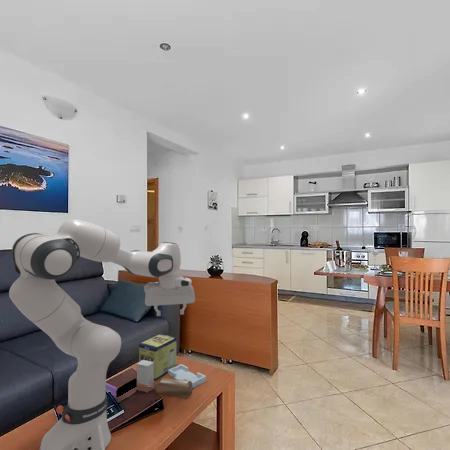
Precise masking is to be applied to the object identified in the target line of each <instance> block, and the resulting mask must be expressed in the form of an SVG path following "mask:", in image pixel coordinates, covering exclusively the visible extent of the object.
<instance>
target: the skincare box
mask: <svg viewBox="0 0 450 450" xmlns="http://www.w3.org/2000/svg"><path fill="white" fill-rule="evenodd" d="M136 379H137V385H140V386H144V387H152V388H154V386H155V385H154V382H155V381H154V362H150V361H146V360H142V361H140V362H137V363H136ZM154 389H155V388H154Z"/></svg>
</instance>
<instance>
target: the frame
mask: <svg viewBox="0 0 450 450" xmlns="http://www.w3.org/2000/svg"><path fill="white" fill-rule="evenodd" d="M192 391H193V390H192V381H185V380H177V379H175V378H168V377H167V378H166V377H161V378H159V379H158V380H157V382H156V394H157V393H158V395H163V396H170V397H176V398H181V399H182V398H184V399H189V398H190V396H191V394H192V393H193V392H192Z"/></svg>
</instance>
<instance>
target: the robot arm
mask: <svg viewBox="0 0 450 450" xmlns="http://www.w3.org/2000/svg"><path fill="white" fill-rule="evenodd" d="M11 248H12V249H11V255H12V260H13V264H14V270H15V272H16V273H17V274H19V275H20V276H19V277H18V278H17V279H16V280H15V281H14V282H13V283H12V285H11V286H10V288H9V291H8V296H9V298H10V300H11V301H12V303H13V304H14V306H15V307H16V308H17V309H18V311H20V313H21V314H23V316H25V318H27V319H28V320H29V321H30V322H32V323H33V324H34V325H35V326H36V327H37V328H39V329H40V330H41V331H43V332H44V333H45V334H46V335H47V336H49V338H50V339H51V340H52V341H53V342H54V344H55V346H56V347H57V348H58V349H59V350H61V351H62V352H63V353H64V354H67V355H69V356H72V357H74V358H76V360H77V368H76V371H74V372H73V373H72V374H71V375H70V377H69V379H68V382H67V383H68V385H67V387H68V388H67V390H68V392H67V393H68V395H67V396H68V400H67V404H66V406H65V407H64V406H63V405H60V404H59V405H58V406H57V407H56V408H55V411H56V413H57V414H58V415H61V418H60V419H59V420H58V421H57V422H55V424H54V425H53V426H52V427H51V428H50V429H49V430H48V431H47V432H46V433H45V434H44V435H43V437H42V440H41V442H40V447H39V450H106V448H107V446H108V445H109V444H110V443H111V441H112V440H111V439H112V434H111V431H110V429H109V424H108V418H107V417H108V416H107V410H108V399H107V395H106V383H107V371H108V368H109V365H110V364H111V362H113V361H114V360H115V359H116V358H117V356H118V355H119V353H120V350H121V348H122V337H121V336H120V334H119V333H118V332H117V331H116V330H114V329H113V328H110V327H108V326H105V325H101V324H99V323H98V324H97V323H94V322H92V321H90V320H88V319H87V318H85V317H84V315H83V314H82V309H81V307H80V305H79V304H78V303H77V302H76V301H75V300H74V299H73V298H72V297H71V296H70V295H69V294H68V293H67V292H66V291H65V290H64V289H63V288H61V287H60V286H59V285H58V284H57V282H56V280H58V279H62V278H65V277H66V276H67V275H69V274H70V272H71V271H72V270H73V269H74V267H75V266H76V263H77V261H78V260H79V259H80V257H81V258H84V259H86V260H91V261H93V262H98V263H99V262H100V263H110V262H111V263H113V264H116V265H118V266H121V267H122V268H124V269H125V270H126V272H128V273H129V274H130V275H132V276H142V277H148V278H149V277H150V278H158V281H155V282H151V281H150V282H147V283H145V284H144V287H143V292H144V293H145V296H144V297H145V298H144V305H145V306H146V307H151V306H153V309H154V310H155V312H156V317H161V315H162V314H161V313H162V312H161V311H162V310H159V309H158V307H159V306H171V305H172V306H173V305H182V308H181V309H179V313H180V314H179V315H185V310H186V308H187V304H194V303H195V302H196V296H195V290H194V289H195V288H194V286H193V284H192V282H193V281H192V279H191V278H189V277H185V276H183V275H182V273H181V264H182V263H181V260H182V259H181V257H182V256H181V250H180V246H179V244H177V243H176V242H169V241H168V242H167V241H166V242H165V241H163V242H160V244H159V246H158V247H157V248H155V249H154V250H152V251H146V250H145V251H144V250H138V249H135V250H128V249H126V248H123V247H122V246H121V240H120V238H119V235H117V234H116V233H115V232H113V231H111V230H110V229H108V228H106V227H104V226H101V225H99V224H96V223H93V222H90V221H85V220H83V219H78V218H77V219H76V218H71V219H68V220H66V221H64V222H63V223H62V224H61V225H60V226H59V228H58V230H57V232H56V233H55V234H53V235H48V234H47V235H46V234H43V233H38V232H32V233H27V234H25V235H22V236H20V237H19V238H17V239H16V241H15V242H14V243H13V244H12V247H11ZM181 275H182V276H181Z"/></svg>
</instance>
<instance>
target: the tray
mask: <svg viewBox="0 0 450 450" xmlns="http://www.w3.org/2000/svg"><path fill="white" fill-rule="evenodd" d="M167 375H168V376H169V377H171V378H172V379H177V380H185V381H192V389H195V388H197V387H199V386H201V385H202V384H204V383H205V382H207V376H206V375H205V374H202V373H201V372H196V374H194V373H193V372H191V371H189V367H188V366H186V365H184V364H182V363H180V364H178V365H176V367H174V368H171V369H169V370H168V373H167Z"/></svg>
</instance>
